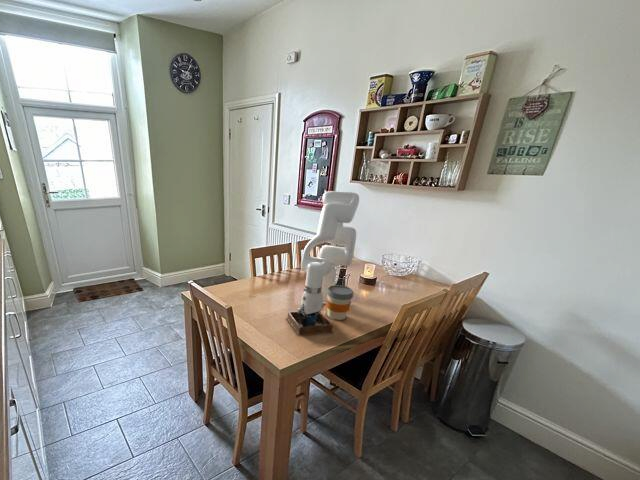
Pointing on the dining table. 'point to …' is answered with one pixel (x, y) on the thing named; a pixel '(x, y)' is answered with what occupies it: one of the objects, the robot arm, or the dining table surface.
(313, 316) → the dark blue cup
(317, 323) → the dark wooden tray
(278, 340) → the dining table surface
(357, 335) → the dining table surface
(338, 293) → the reusable coffee cup
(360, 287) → the dining table surface
